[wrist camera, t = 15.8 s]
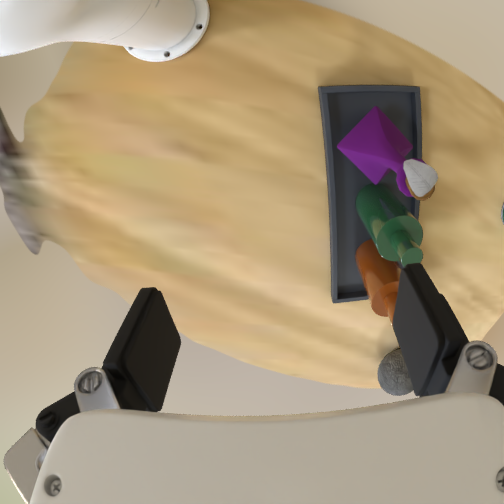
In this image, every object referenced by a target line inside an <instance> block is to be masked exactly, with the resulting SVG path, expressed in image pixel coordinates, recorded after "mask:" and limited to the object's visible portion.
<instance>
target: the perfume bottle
mask: <svg viewBox="0 0 504 504" xmlns="http://www.w3.org/2000/svg"><path fill="white" fill-rule="evenodd" d="M337 148H338V149H339V150H340V151H341V152H342V153H343V154H344V155H345V156H347V157H348V158H349V159H350V160H351V161H352V162H353V163H354V164H355V165H356V166H357V167H358V168H359V169H360V170H361V171H362V172H363V173H364V174H365V175H366V176H367V177H368V178H369V179H370V180H371V181H372V182H373V183H374V184H375V185H377V184H378V183H379V182H380V181H381V180H382V179H383V178H384V177H385V176H386V175H387V174H388V173H389V172H390V171H391V170H393V171H395V172H396V173H397V177H396V181H397V185H398V188H399V190H400V191H401V192H402V193H403V194H405V195H406V196H408V197H414V198H416V199H417V200H426V199H428V198H430V197H431V195H432V194H433V192H434V190H435V183H436V182H437V179H438V175H437V173H436V171H435V170H434V169H433V168H432V167H430V166H429V165H427V164H426V163H425V162H424V161H423V160H422V159H416V158H411V159H409V160H407V159H406V158H405V156H406V155H407V154H408V153H409V152H410V151H411V150H412V149H413V146H412V144H411V143H410V142H409V141H408V140H407V138H406V137H405V136H404V135H403V134H402V133H401V131H400V130H399V129H398V128H397V127H396V126H395V125H394V124H393V123H392V121H391V120H390V119H389V118H388V117H387V116H386V115H385V114H384V113H383V112H382V111H381V110H380V109H379V108H378V107H377V106H374V107H373V108H372V109H371V110H370V111H369V112H368V113H367V115H366V116H365V117H364V118H363V119H362V120H361V121H360V122H359V123H358V124H357V125H356V126H355V127H354V128H353V129H352V130H351V131H350V132H349V133H348V134H347V135H346V136H345V137H344V138H343V139H342V140H341V142H340V143H339V144H338V145H337Z"/></svg>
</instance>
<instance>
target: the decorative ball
mask: <svg viewBox="0 0 504 504" xmlns="http://www.w3.org/2000/svg"><path fill="white" fill-rule="evenodd" d="M378 381H379V384H380V386H381V387H382V389H383V390H384V391H386V392H387V393H389V394H391V395H397V396H400V395H405V394H408V393H410V392H411V391H413V386H412V383H411V380H410V377H409V373H408V370H407V367H406V364H405V361H404V358H403V355H402V352H401V349H399V350H395V351H392V352H391V353H389V354H388V355H386V356H385V357H384V359H383V360H382V361H381V363H380V365H379V368H378Z"/></svg>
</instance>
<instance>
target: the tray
mask: <svg viewBox="0 0 504 504" xmlns="http://www.w3.org/2000/svg"><path fill="white" fill-rule="evenodd" d="M318 92H319V100H320V108H321V117H322V126H323V136H324V147H325V158H326V171H327V185H328V201H329V221H330V248H331V297H332V302H333V303H341V302H350V301H359V300H367V299H369V298H368V295H367V292H366V289H365V287H364V284H363V281H362V278H361V275H360V273H359V270H358V267H357V265H356V262H355V253H356V251H357V249H358V247H359V246H360V245H361V244H362V243H364V242H365V241H367V240H370V239H371V237H370V235H369V233H368V231H367V229H366V227H365V225H364V224H363V222H362V220H361V218H360V216H359V215H358V213H357V211H356V207H355V200H356V197H357V194H358V193H359V191H360V190H361V189H362V188H363V187H365V186H366V185H368V184H371V183H373V182H372V181H371V180H370V179H369V178H368V177H367V176H366V175H365V174H364V173H363V172H362V171H361V170H360V169H359V168H358V167H357V166H356V165H355V164H354V163H353V162H352V161H351V160H350V159H349V158H348V157H347V156H345V155H344V154H343V153H342V152H341V151H340V150H339V149H338V148H337V145H338V144H339V143H340V142H341V140H342V139H343V138H344V137H345V136H346V135H347V134H348V133H349V132H350V131H351V130H352V129H353V128H354V127H355V126H356V125H357V124H358V123H359V122H360V121H361V120H362V119H363V118H364V117H365V116H366V115H367V113H368V112H369V111H370V110H371V109H372V108H373V107H374V106H377V107H378V108H379V109H380V110H381V111H382V112H383V113H384V114H385V115H386V116H387V117H388V118H389V119H390V120H391V121H392V123H393V124H394V125H395V126H396V127H397V128H398V129H399V130H400V131H401V133H402V134H403V135H404V136H405V137H406V138H407V140H408V141H409V142H410V143H411V144H412V146H413V149H412V150H411V151H410V152H409V153H408V154H407V155H406V156H405V158H406V159H407V160H409V159H411V158H416V159H422V122H421V99H420V87H416V86H399V85H342V86H321V87H318ZM396 177H397V173H396V172H395V171H393V170H391V171H390V172H389V173H388V174H387V175H386V176H385V177H384V178H383V179H382V180H381V181H380V182H379V183H381V184H383V185H385V186H387V187H388V188H389V189H390V190H391V191H392V192H393V193H394V194H395V196H396V197H397V198H398V199H399V200H400V201H401V202H402V203H403V204H404V206H405V207H406V208H407V209H408V210H409V211H410V212H411V214H412V215H413V216H414V217H415V218H416V219H417V221H418V217H419V205H420V200H417V199H416V198H414V197H408V196H406V195H405V194H403V193H402V192H401V191H400V190H399V188H398V185H397V181H396ZM398 263H399V265H400V267H401V269H402V268H405V267H404V266H403V265H402V263H401V262H400V261H398Z"/></svg>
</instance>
